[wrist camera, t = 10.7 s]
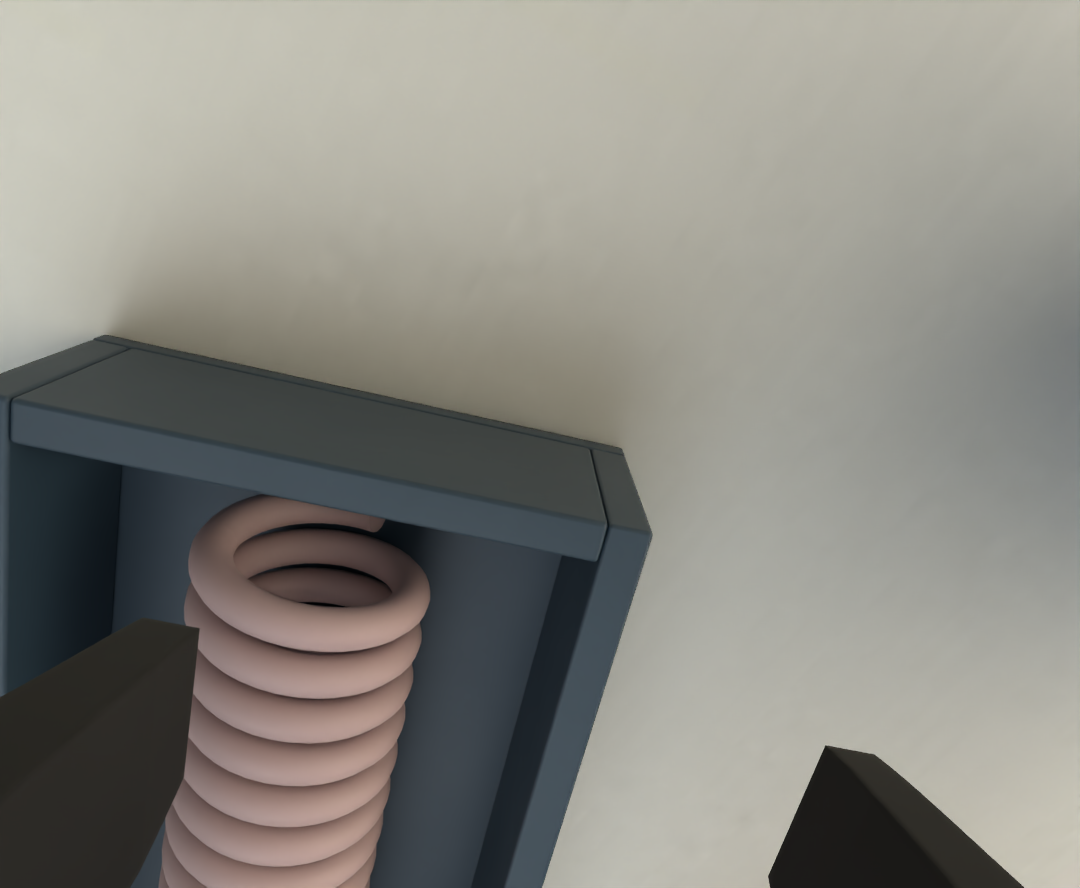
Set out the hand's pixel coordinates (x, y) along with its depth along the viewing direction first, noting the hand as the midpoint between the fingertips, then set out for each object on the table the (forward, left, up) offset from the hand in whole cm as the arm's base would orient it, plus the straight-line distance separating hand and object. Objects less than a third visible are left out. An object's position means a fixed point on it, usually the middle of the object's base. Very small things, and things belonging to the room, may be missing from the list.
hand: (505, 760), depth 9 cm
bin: (+4, +10, -9) cm, 14 cm away
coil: (+4, +10, -9) cm, 14 cm away
